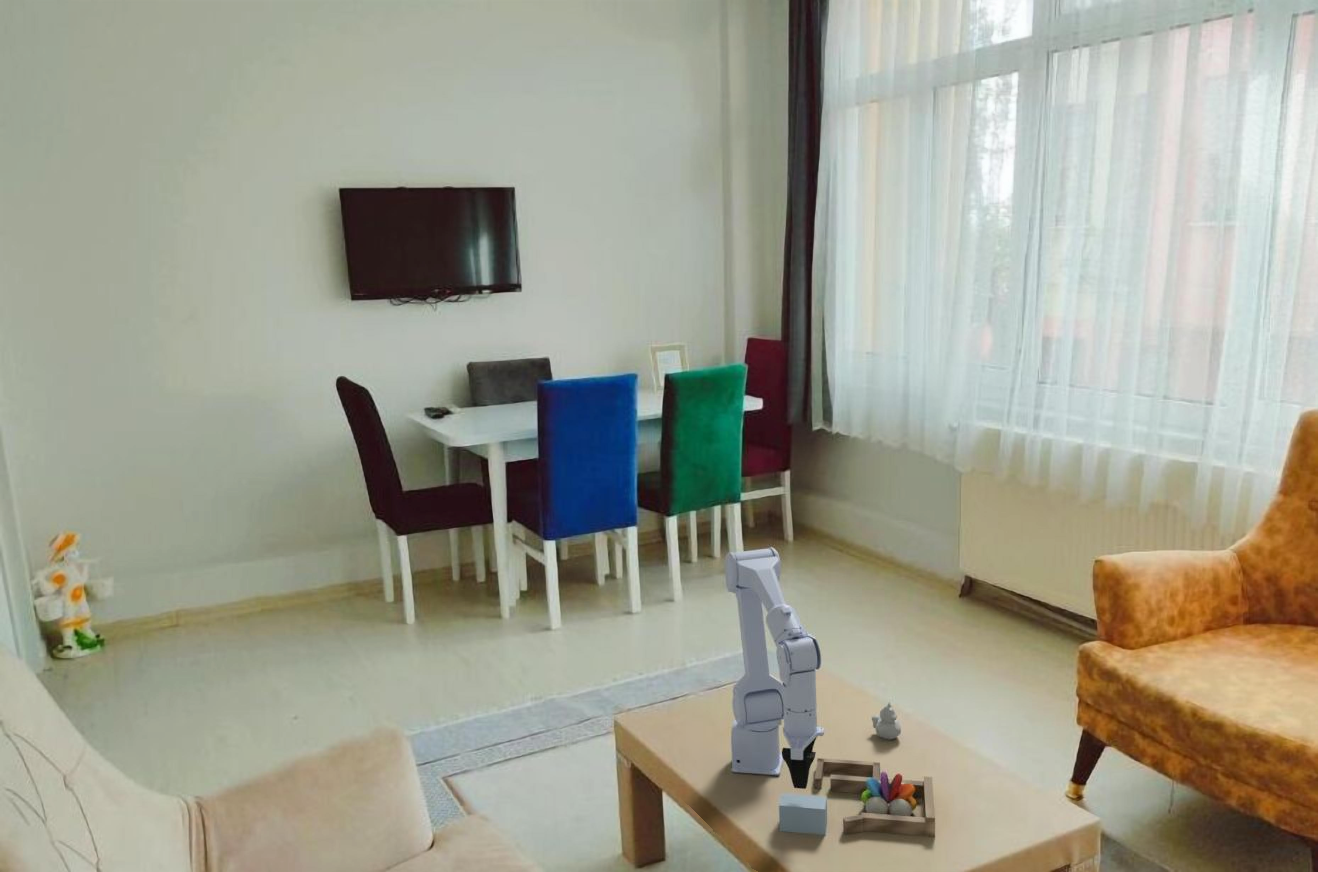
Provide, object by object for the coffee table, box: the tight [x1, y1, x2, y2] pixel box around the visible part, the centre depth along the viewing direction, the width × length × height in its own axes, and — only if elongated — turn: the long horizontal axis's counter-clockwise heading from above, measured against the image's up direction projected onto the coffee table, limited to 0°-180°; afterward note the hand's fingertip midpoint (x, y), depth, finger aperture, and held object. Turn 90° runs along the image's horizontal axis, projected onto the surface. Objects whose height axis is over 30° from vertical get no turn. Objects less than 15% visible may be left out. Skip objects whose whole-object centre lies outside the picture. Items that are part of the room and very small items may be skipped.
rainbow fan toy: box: [861, 771, 918, 817], centre depth 174 cm, size 8×10×7 cm
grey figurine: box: [871, 701, 902, 740], centre depth 200 cm, size 5×7×8 cm
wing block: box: [778, 792, 828, 836], centre depth 171 cm, size 8×4×5 cm, turn 76°
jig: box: [814, 757, 936, 838], centre depth 177 cm, size 22×22×4 cm
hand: (801, 777), depth 169 cm, fingers open, 6 cm apart
